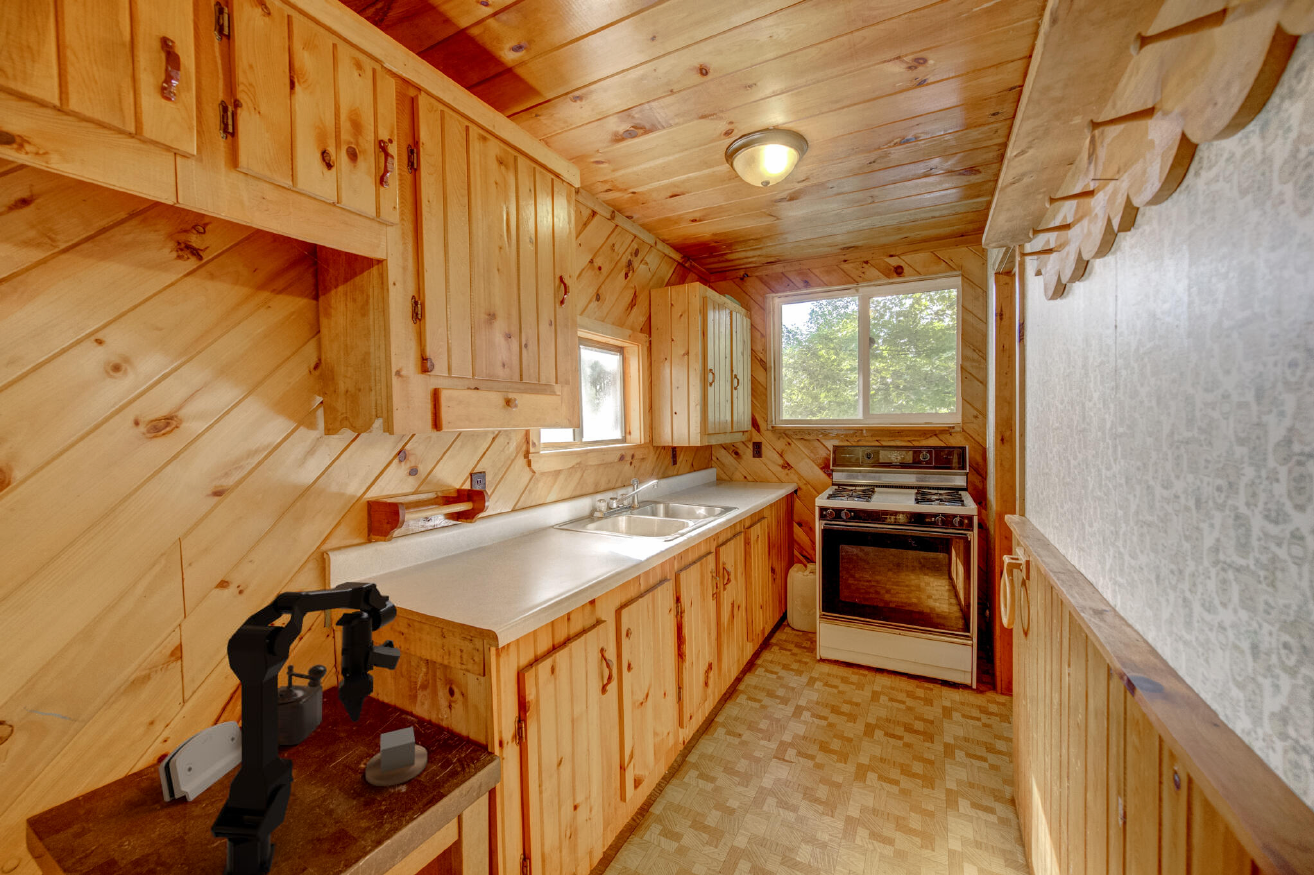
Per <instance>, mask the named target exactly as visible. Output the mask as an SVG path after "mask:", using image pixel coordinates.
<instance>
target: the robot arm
mask: <svg viewBox="0 0 1314 875" xmlns="http://www.w3.org/2000/svg"><path fill="white" fill-rule="evenodd" d="M377 586H378V584H377V583H375V582H363V581H362V582H360V581H359V582H358V581H357V582H356V581H346V582H343V583H341V584H337V585H336V586H335V587H333V588H328V589H327V588H326V589H317V590H316V589H315V590H307V591H306V590H305V591H304V590H303V591H284V592H282V593H279V594H278V595H276V596H275V598H273V600H272V601H271V602H270V603H269V604H268V605H266V606H264V607H263V608H261V609H260V610H258V611H256V612H255V613H253V614H251V615H250V616H249V617H248V618H247V619H245V621H244V622H243V623H242V624H241V625H240V626H239V628H238V629H236V631H235V632H234V633H233V634H231V637H230V638H229V639H228V640H227V641H228V642H227V644H226V654H227V659H228V664H229V668H230V670H231V671H232V672H233V674H234V675H235V677H236V678H237V679H238V680H239V682H240V687H241V688H240V690H241V692H240V693H241V695H240V696H241V700H240V701H241V702H240V704H241V710H240V712H241V716H240V718H241V724H240V725H241V728H240V730H241V750H242V762H240V764H241V765H240V768H239V770H238V771H237V773H236V774H235V776H234V777H233V778H232V780H231V781H230V785H229V788H228V789H229V791H228V797H227V798H226V800H225V802H224V804H223V806H222V808H221V809H220V811H219V813H218V815H217V816H216V818H215V820H214V822H213V824H212V825H211V827H210V833H211V835H212V837H213V838H214V839H218V838H221V839H222V838H223V839H227V840H226V841H227V842H226V844H227V845H226V846H227V848H226V864H225V866H224V870H223V873H222V875H266V874H268V873H270V872H271V868H272V863H273V859H274V856H275V849H276V843H275V842H273V843H271V838H272V837H271V834H272V833H273V832H274V831H275V830H276V829H277V828H278V827H279V826H280V825H282V824H283V822H284V821H285V817H286V813H287V809H288V805H289V801H290V796H291V792H292V783H294V781H295V779H294V778H293V768H294V762H293V760H292V758H281V757H280V755H279V746H278V688H279V673H280V672H281V671H282V669H283V667H284V666H285V665H286V663H287V661H288V660H289V657H290V650H291V646H292V645H293V643H294V642H295V641H296V639H297V638H298V637H299V636H300V635H301V633H302V632H303V631H302V630H303V624H304V618H305V617H306V615H307V614H308V613H313V612H323V611H328V610H329V611H330V610H335V609H340V610H356V611H353V612H351V613H350V612H343V613H342V615H341V616H340V617H339V619H337V621H336V622H335V626H336V627H342V629H341V652H340V653H341V662H340V664H341V665H340V675H341V676H342V679H341V680H340V682H338V691H337V692H338V694H337V695H338V696H337V697H338V698H337V699H338V700H339V701H340V703H341V704H342V705H343V707H344V708H345V711H346V712H347V714H348V716H349V718H350V720H351V722H353V723H355V722H359V720H360V717H361V714H362V709H363V706H364V701H365V699H366V698H367V697H368V696H370V695H371V694H373V693H374V676H373V675H371V673H369V672H370V671H373V670H374V667H375V668H382V669H387V670H389V671H390V670H391V671H394V670H396V668H397V666H398V663H399V661H400V658H401V656H402V655H401V650H400V649H399V648H398V647H397V646H396V647H395V644H394V640H391V639H386V640H385V641H383V643H381V644H379V645H375V644H374V639H373V632H376V631H378V630H379V629H382V628H384V627H385V626H387V625H388V624H391V623H392V622H393V621H394V620H395V619H396V618H397V614H398V609H397V607H396V605H395V604H394V603H393V602H392V601H391V600H390V595H384V594H383V595H382V594H381V592H380V590H379V589H378V588H377ZM284 615H290V620H289V621H287V623H285V625H284V626H283V625H282V626H281V625H271V624H272V623H274V622H276V621H277V620H279V619H280V618H281V617H282V616H284Z"/></svg>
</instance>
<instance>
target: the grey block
mask: <svg viewBox="0 0 1314 875" xmlns="http://www.w3.org/2000/svg"><path fill="white" fill-rule="evenodd" d="M415 738H416V737H415V732H414V727H413V726H410V727H406V728H401V729H397V730H394V731H388V732H385V733H381V734H380V749H379V750H380V752H379V753H380V761H381V774H382V773H385V772H389V771H393V770H396V769H400V768H404V767H407V766H411V765H415V745H416V740H415Z"/></svg>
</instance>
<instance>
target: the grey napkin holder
mask: <svg viewBox="0 0 1314 875" xmlns="http://www.w3.org/2000/svg"><path fill="white" fill-rule="evenodd" d="M241 763H242V750H241V728H240V727H239V724H238V722H237V721H235V720H232V721H231V720H230V721H226V722H222V723H218V724H215V725H212V726H209V727H207V728H204V729H203V730H200V731H199V732H197V733H195V734H194V735H192V736H190V737H188V738H187V739H186V740H184V741H182V742H181V743H180V744H179V745H178V746H177V747H175V748H174V749H173V750H172V751H171V752H170V753H169V754H168V755H166V757H165V758H164V760H162V762H161V763H160V765H159V767H158V772H159V778H160V782H161V787H162V794H163V799H164V802H170V801H171V800H173V799H174V798H175V799H178V798H180V797H183V796H185V797H186V799H187V801H188V802H191V801H193V800H194V799H195V798H197V797H198V796H199V795H200V794H202V793H203V792H205V790H206V789H207V790H208V788H209V787H211V786H212V785H213V784H214V783H216V782H218V781H219V780H221V778H222V777H223V776H225V775H227V773H228V772H230V771H231V770H233V769H234V768H235V767H236V766H237V765H239V764H241Z"/></svg>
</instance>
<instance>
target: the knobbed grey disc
mask: <svg viewBox="0 0 1314 875" xmlns="http://www.w3.org/2000/svg"><path fill="white" fill-rule="evenodd" d="M427 764H428V751H427V750H426V748H425V747H423V746H422V745H419V744H415V765H411V766H407V767H404V768H400V769H396V770H393V771H389V772H385V773H382V774H381V761H380V752H378V753H376V754H375V755H374V756H373V757H371V759H369V761H368V762H367V763H366V765H365V779H366V781H367V782H368V783H369V784H370V785H373V786H375V787H390V786H395V785H399V784H402V783H405V782H407V781H410V780H412V779H413V778H415V777H416V776H418V775H419V774H420V773H422V772H423V770H425V768H426V766H427Z"/></svg>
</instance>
